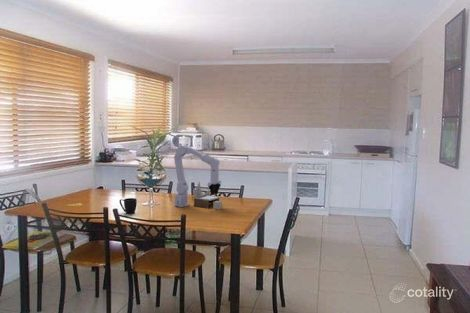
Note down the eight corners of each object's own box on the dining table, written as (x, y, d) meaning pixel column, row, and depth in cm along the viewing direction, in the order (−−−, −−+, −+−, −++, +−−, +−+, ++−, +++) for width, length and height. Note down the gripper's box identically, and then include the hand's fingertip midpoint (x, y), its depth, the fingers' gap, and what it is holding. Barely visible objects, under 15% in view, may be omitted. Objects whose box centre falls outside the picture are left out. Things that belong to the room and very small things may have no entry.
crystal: (207, 201, 314) (207, 182, 313) (191, 201, 316) (191, 181, 315) (210, 199, 324) (210, 180, 322) (194, 198, 326) (194, 180, 325)
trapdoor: (209, 200, 292) (209, 197, 291) (196, 198, 298) (196, 196, 297) (218, 198, 302) (218, 195, 302) (205, 196, 308) (205, 193, 308)
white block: (218, 209, 287) (218, 202, 286) (213, 208, 289) (213, 201, 289) (222, 208, 291) (222, 201, 290) (216, 207, 293) (216, 200, 293)
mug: (123, 211, 278) (123, 197, 277) (139, 212, 274) (139, 198, 274) (116, 213, 270) (116, 199, 269) (132, 215, 266) (132, 200, 266)
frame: (207, 208, 291) (207, 200, 290) (194, 206, 297) (194, 198, 296) (219, 204, 304) (219, 197, 304) (205, 202, 310) (205, 195, 310)
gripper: (213, 177, 284) (213, 196, 285) (224, 175, 297) (224, 193, 298) (205, 176, 288) (205, 195, 289) (216, 174, 300) (216, 192, 301)
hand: (214, 194), depth 294 cm, fingers open, 4 cm apart
